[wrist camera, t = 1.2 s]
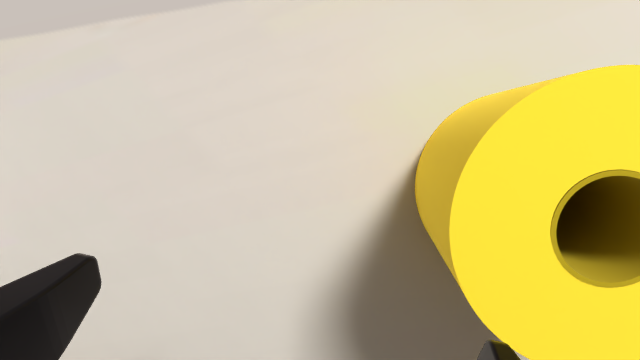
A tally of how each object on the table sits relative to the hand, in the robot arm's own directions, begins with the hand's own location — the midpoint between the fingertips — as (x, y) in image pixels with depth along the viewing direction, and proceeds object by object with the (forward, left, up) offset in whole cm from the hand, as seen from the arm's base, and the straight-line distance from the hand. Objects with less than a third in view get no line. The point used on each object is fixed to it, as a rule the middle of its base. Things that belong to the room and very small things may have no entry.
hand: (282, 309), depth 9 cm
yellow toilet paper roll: (+9, -4, -14) cm, 17 cm away
